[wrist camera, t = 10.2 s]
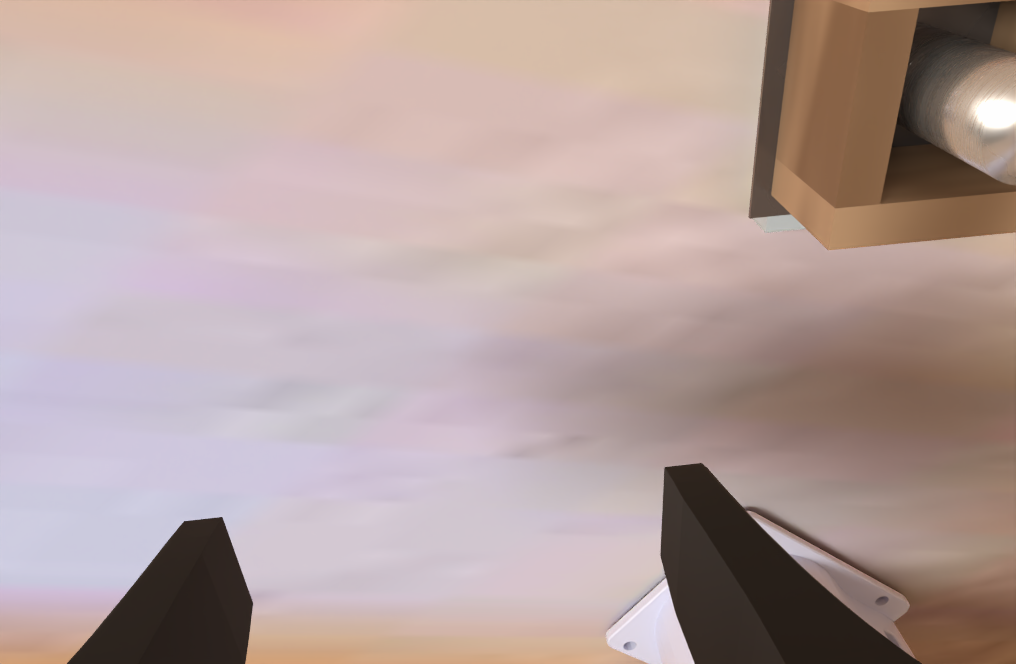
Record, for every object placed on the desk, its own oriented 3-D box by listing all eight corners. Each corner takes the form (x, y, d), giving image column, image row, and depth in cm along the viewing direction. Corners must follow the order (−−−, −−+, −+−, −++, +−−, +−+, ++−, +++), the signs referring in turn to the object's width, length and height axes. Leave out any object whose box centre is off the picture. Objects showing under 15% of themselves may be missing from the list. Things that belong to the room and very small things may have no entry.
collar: (1063, -82, 17) (1190, -71, 15) (993, 174, 21) (1085, 225, 18) (802, -61, 17) (877, -46, 14) (771, 194, 20) (828, 250, 17)
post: (1085, -106, 17) (1300, -96, 13) (1003, 191, 21) (1149, 275, 17) (778, -79, 17) (894, -60, 13) (748, 217, 21) (831, 309, 16)
